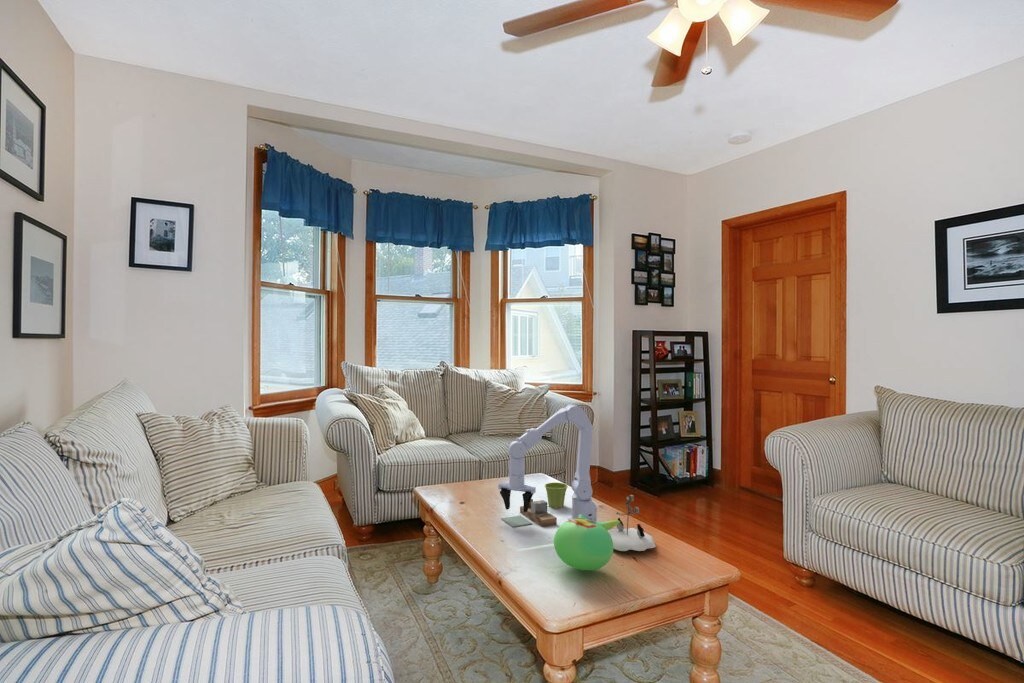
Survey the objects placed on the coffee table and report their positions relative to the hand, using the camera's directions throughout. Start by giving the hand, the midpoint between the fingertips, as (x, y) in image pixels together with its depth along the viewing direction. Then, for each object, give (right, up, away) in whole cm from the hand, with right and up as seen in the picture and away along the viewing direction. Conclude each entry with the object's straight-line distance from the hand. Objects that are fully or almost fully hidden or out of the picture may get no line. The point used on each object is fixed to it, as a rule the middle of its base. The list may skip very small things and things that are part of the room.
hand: (516, 510), depth 199 cm
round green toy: (+20, -4, -40) cm, 45 cm away
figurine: (+37, -5, -20) cm, 42 cm away
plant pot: (+16, -5, +19) cm, 25 cm away
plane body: (+8, -4, +4) cm, 10 cm away
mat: (0, -4, 0) cm, 4 cm away
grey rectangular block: (+9, -2, +3) cm, 9 cm away
